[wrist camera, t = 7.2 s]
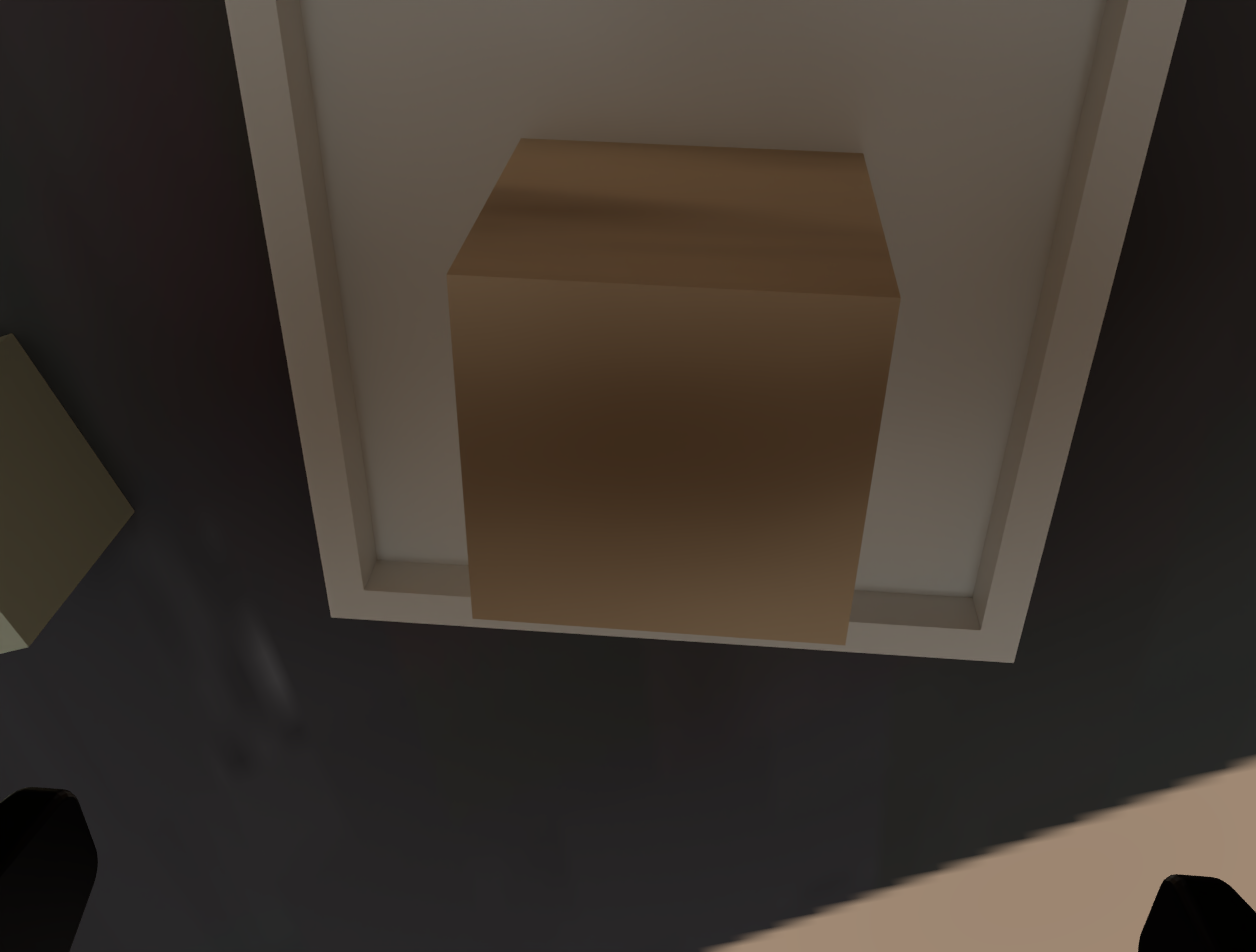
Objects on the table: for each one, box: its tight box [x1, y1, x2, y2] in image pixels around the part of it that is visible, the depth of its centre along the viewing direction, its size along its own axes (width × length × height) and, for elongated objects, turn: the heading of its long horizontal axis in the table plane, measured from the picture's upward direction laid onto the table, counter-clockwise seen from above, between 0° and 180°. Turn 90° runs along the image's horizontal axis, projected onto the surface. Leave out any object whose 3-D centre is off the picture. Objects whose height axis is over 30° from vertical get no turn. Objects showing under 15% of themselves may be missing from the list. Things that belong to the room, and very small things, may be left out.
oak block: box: [446, 138, 901, 645], centre depth 16 cm, size 5×5×5 cm
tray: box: [225, 0, 1186, 663], centre depth 18 cm, size 12×12×2 cm
